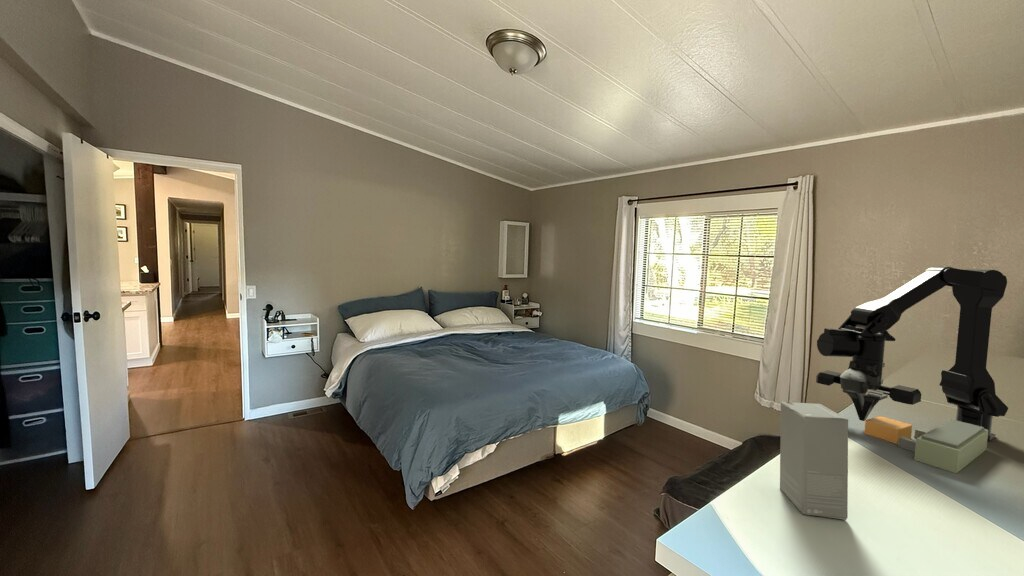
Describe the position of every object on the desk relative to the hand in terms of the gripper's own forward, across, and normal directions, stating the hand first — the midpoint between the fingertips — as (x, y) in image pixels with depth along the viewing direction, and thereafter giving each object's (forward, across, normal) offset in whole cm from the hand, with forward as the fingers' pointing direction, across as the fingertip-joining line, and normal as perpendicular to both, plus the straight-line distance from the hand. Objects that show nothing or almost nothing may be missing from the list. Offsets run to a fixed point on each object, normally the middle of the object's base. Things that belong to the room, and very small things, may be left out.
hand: (862, 420), depth 100 cm
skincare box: (+2, +10, -49) cm, 50 cm away
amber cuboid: (+2, +5, 0) cm, 5 cm away
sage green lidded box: (+2, +13, 0) cm, 14 cm away
